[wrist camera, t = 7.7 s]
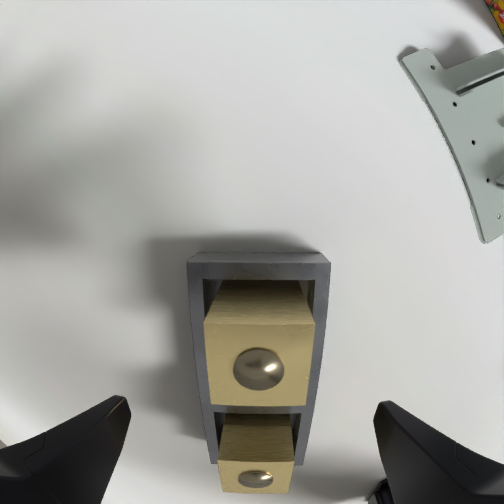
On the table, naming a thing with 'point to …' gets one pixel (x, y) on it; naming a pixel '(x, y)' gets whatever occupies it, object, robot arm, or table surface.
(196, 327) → the grey slotted tray
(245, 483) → the block
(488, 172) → the metal bracket
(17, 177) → the table surface
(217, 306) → the tan knobbed block
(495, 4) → the crayon box
